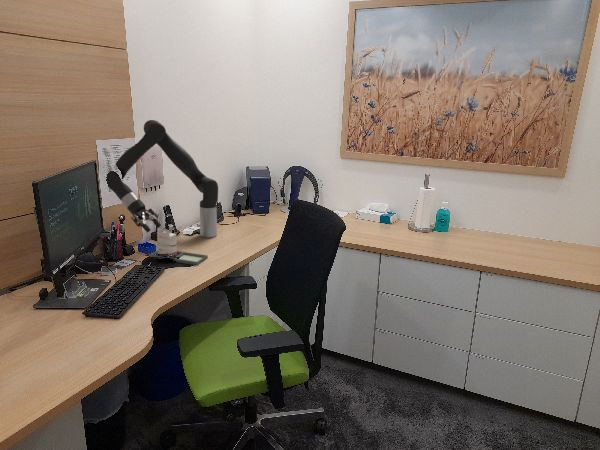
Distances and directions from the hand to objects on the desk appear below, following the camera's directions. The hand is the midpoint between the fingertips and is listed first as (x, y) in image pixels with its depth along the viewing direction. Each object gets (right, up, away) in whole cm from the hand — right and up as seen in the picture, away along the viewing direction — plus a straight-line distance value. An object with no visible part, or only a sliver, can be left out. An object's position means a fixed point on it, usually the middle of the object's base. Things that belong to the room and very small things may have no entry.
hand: (154, 228), depth 214 cm
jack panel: (+12, -14, 0) cm, 19 cm away
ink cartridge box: (+6, -14, +2) cm, 15 cm away
